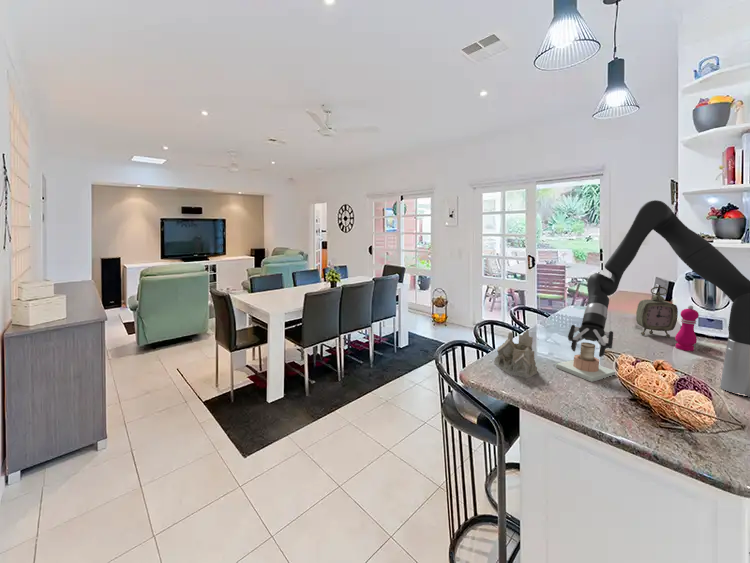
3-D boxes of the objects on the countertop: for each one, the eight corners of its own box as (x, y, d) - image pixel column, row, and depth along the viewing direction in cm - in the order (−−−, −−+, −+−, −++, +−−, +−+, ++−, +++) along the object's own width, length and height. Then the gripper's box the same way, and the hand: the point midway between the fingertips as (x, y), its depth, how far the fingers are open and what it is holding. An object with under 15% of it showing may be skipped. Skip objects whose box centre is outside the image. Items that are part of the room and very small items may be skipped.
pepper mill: (699, 352, 152) (706, 307, 149) (680, 350, 154) (686, 306, 151) (688, 346, 159) (694, 304, 156) (670, 345, 161) (676, 303, 158)
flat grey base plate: (616, 375, 127) (617, 362, 126) (591, 381, 121) (593, 368, 121) (579, 361, 140) (581, 350, 139) (556, 367, 134) (557, 355, 133)
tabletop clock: (639, 336, 175) (646, 287, 171) (632, 331, 184) (638, 284, 180) (674, 338, 171) (681, 288, 167) (665, 333, 180) (671, 286, 176)
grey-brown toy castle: (498, 356, 144) (501, 322, 141) (541, 367, 135) (545, 331, 131) (485, 370, 132) (488, 333, 129) (531, 384, 123) (536, 344, 119)
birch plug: (595, 368, 129) (598, 345, 128) (587, 370, 127) (590, 346, 126) (583, 364, 133) (586, 341, 132) (576, 366, 131) (578, 343, 130)
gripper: (573, 308, 137) (564, 343, 130) (616, 314, 128) (609, 352, 121) (574, 319, 142) (566, 353, 135) (616, 325, 133) (609, 362, 126)
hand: (586, 353), depth 128 cm, fingers open, 8 cm apart
